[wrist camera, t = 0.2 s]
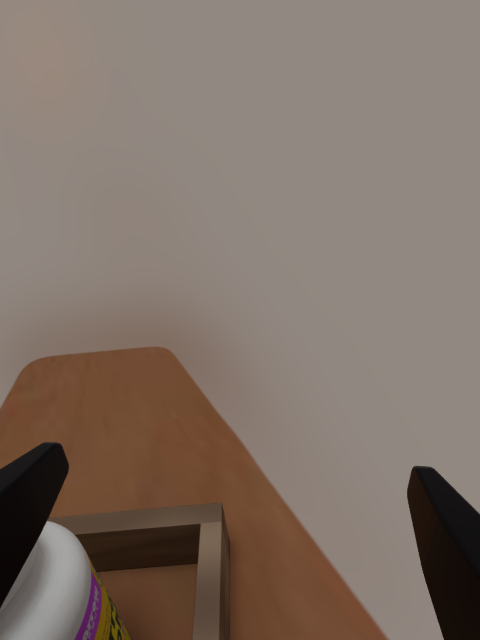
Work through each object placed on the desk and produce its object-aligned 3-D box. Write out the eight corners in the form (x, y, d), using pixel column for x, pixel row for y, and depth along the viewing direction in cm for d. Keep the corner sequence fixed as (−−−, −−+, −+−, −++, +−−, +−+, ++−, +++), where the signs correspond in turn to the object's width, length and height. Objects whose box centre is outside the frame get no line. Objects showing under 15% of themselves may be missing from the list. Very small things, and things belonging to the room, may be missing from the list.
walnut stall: (229, 758, 15) (217, 727, 13) (-112, 782, 16) (-171, 756, 14) (229, 540, 23) (221, 502, 21) (4, 560, 24) (-23, 524, 22)
